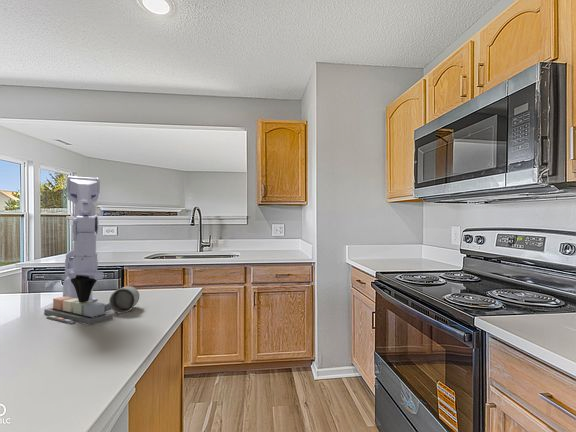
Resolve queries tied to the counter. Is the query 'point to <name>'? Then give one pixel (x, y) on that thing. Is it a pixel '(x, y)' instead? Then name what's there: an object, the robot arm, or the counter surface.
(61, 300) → the terracotta key
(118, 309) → the ceramic mug
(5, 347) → the counter surface
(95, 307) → the slate key
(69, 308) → the sand key
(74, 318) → the keypad base
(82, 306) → the sage key
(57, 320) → the strip
